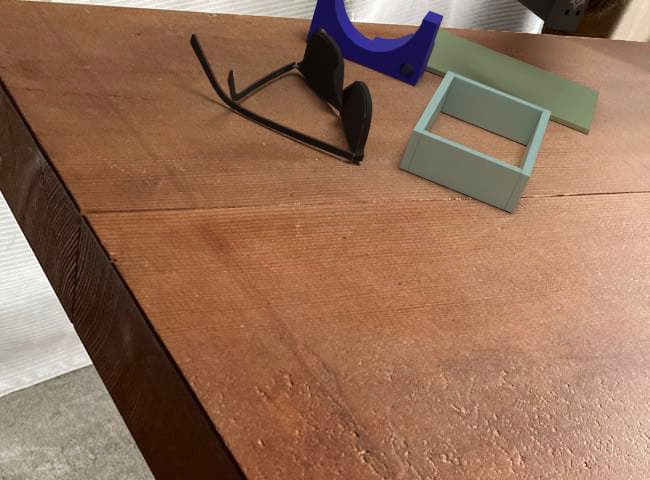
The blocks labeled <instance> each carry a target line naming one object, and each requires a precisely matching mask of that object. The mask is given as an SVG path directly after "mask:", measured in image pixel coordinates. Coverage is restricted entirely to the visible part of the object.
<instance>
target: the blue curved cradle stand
mask: <svg viewBox="0 0 650 480" xmlns="http://www.w3.org/2000/svg"><path fill="white" fill-rule="evenodd" d="M443 19H444V15H443V14H440V13H437V12H435V11H432V10H428V12H426V14H425V16H424V17H423V18H422V21H421V22H420V25H419V27H418V29H417V30H415V31H414V33H412V32H411V33H409V34H406V35H404V36H401V37H397V38H384V37H380V36H377V35H375V37H374V38H373V39H370V38H369V37H367V36H365V35H364V34H363V33H362V32H360V31H359V30H358V29H357V28H356V27H355V26H354V24H353V23H352V21H351V19H350V17H349V15H348V12H347V10H346V6H345V0H316V4H315V7H314V11H313V15H312V18H311V21H310V25H309V29H308V33H307V37H306V40H305V43H306V44H307V43H308V40H309V38H310V35H311V34H312V33H313V32H314V31H316V30H318V31H324V32H326V33H327V34H329V35H330V36H331V37H332V38H333V39H334V40H335V41H336V43H337V44H338V46H339V47H340V49H341V51H342V54H343V58H344V59H346V60H349V61H352V62H354V63H357V64H359V65H362V66H364V67H367V68H369V69H371V70H374V71H377V72H379V73H381V74H384V75H387V76H389V77H392V78H394V79H396V80H398V81H402V82H404V83H406V84H408V85H412V86H414V87H416V86H417V84H418V83H419V81H420V80H421V78H422V77H423V75H424V74H425V73H426V67H427V64H428V61H429V59H430V56H431V53H432V51H433V48H434V45H435V42H434V41H435V38H436V36H437V33H438V30H439V29H440V27H441V25H442V22H443Z"/></svg>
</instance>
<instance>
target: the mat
mask: <svg viewBox="0 0 650 480" xmlns="http://www.w3.org/2000/svg"><path fill="white" fill-rule="evenodd" d="M434 42H435V45H434V48H433V51H432V53H431V56H430V59H429V61H428V64H427V67H426V70H425V72H426V71H427V72H429V73H432V74H434V75H436V76H439V77H442V78H444V77H445V75H446V74H447V72H448V71H450V72H453V73H455V74H458V75H460V76H463V77H465V78H468V79H471V80H473V81H476V82H478V83H481V84H483V85H486V86H488V87H491V88H493V89H496V90H498V91H501V92H503V93H506V94H509V95H511V96H514V97H516V98H519V99H521V100H524V101H526V102H529V103H531V104H534V105H536V106H539V107H541V108H543V109H546V110H549V111H551V115H550V118H549V120H550V121H553V122H556V123H558V124H561V125H563V126H565V127H567V128H571V129H572V130H576V131H578V132H580V133H583V134H586V135H588V134H589V133H590V131H591V126H592V123H593V119H594V114H595V111H596V107H597V102H598V98H599V95H600V91H598V90H596V89H594V88H591V87H588V86H586V85H584V84H580V83H578V82H576V81H573V80H571V79H568V78H565V77H563V76H560V75H558V74H555V73H552V72H551V71H548V70H544V69H542V68H539V67H537V66H535V65H532V64H530V63H528V62H524V61H522V60H520V59H517V58H515V57H513V56H509V55H507V54H504V53H501V52H499V51H497V50H494V49H491V48H489V47H486V46H484V45H481V44H479V43H476V42H473V41H471V40H469V39H466V38H463V37H461V36H458V35H456V34H453V33H451V32H449V31H446V30H444V29H440V28H439V30H438V33H437V36H436V38H435V41H434Z"/></svg>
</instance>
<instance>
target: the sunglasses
mask: <svg viewBox="0 0 650 480" xmlns="http://www.w3.org/2000/svg"><path fill="white" fill-rule="evenodd" d="M189 44H190V46H191V48H192V50H193V52H194V54H195V56H196V58H197V60H198V62H199V64H200V66H201V68H202V69H203V71H204V74H205V75H206V77H207V79H208V81H209V83H210V85H211V88H212V89H214V91H215V93H216V94H217V96H218V97H219V98H220V100H221V101H222V102H224V103H225V104H226V106H227V107H230V108H231V110H234V111H236V112H237V113H239V114H240V115H242V116H244V117H247V118H248V119H250V120H252V121H254V122H256V123H258V124H261V125H263V126H265V127H267V128H269V129H271V130H273V131H276V132H278V133H280V134H283V135H284V136H288V137H290V138H292V139H294V140H297V141H299V142H302V143H304V144H307V145H309V146H312V147H314V148H317V149H320V150H322V151H325V152H327V153H328V154H329V153H330V154H333V155H334V156H336V157H337V156H338V157H340V158H343V159H345V160H348V161H353V160H354V162H363V160H364V159H365V148H366V144H367V142H368V137H369V134H370V130H371V125H372V119H373V98H372V95H371V92H370V89H369V87H368V85H367V84H366V82H364V80H363V81H362V80H354V81H353V82H351V83H350V84H349V85H347V86H345V87H344V83H345V82H344V81H345V60H344V59H345V58H344V57H343V54H342V51H341V49H340V47H339V46H338V44H337V43H336V41H335V40H334V39H333V38H332V37H331V36H330V35H329V34H327V33H326V31H325V30H322V31H318V30H316V31H314V32H313V33H312V34H311V35H310V38H309V40H308V43H306V45H305V48H304V54H303V57H302V60H300V61H299V62H298V61H297V62H296V61H292V62H290V63H287V64H285V65H283V66H281V67H278V68H276V69H274V70H272V71H271V72H269V73H267V74H265V75H263V76H262V77H260V78H258V79H257V80H256V81H254V82H252V83H251V84H249V85H248V86H246V87H244V89H242V90H241V91H238V93H237V90H236V84H235V83H236V82H235V77H234V76H235V75H234V70H233V69H229V71H228V75H227V78H226V82H227V86H228V91H229V95H230V96H228V95H227V93H226V92H225V91H224V89H223V88H222V87H221V85H220V83H219V81H218V79H217V78H216V76H215V73H214V71H213V69H212V67H211V64H210V62H209V61H208V58H207V55H206V54H205V52H204V50H203V49H204V48H203V47H202V45H201V43H200V40H199V39H198V36H197V34H196V33H192V34H191V36H190V39H189ZM295 69H296V70H297V71H298V72H299V73H300V74H301V75H302V76H303V78H304V80H305V81H306V82H307V83H308V85H309V86H310V87H311V89H312V90H313V91H314V92H315V94H317V95H318V96H319V97H320V98H321V99H323V100H324V101H325V102H326V103H327V104H329V105H330V106H331V107H333V108H334V109H335V110H336V111H337V112H338V114H339V118H340V121H341V124H342V128H343V131H344V133H345V138H346V141H347V144H348V147H349V149H350V150H347V149H344V148H342V147H339V146H337V145H334V144H332V143H330V142H326V141H323V140H321V139H319V138H316V137H314V136H311V135H309V134H306V133H303V132H302V131H298V130H296V129H293V128H292V127H289V126H286V125H283V124H282V123H279V122H276V121H274V120H272V119H270V118H267V117H265V116H262V115H260V114H258V113H256V112H254V111H252V110H250V109H248V108H246V107H244V106H243V105H241V104H240V103H238V102H239V101H240V100H242V99H243V98H245V97H246V96H248V95H249V94H250V93H252V92H253V91H255V90H257V89H258V88H260V87H262V86H264V85H265V84H267V83H268V82H271V81H273V80H275V79H277V78H278V77H280V76H282V75H285V74H287V73H289V72H291V71H293V70H295Z"/></svg>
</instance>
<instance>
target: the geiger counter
mask: <svg viewBox="0 0 650 480" xmlns="http://www.w3.org/2000/svg"><path fill="white" fill-rule="evenodd" d="M516 1H517V2H518V3H520V4H521V5H522V6H524V8H526V9H527V10H529V12H531V13H533V14H534V15H535V16H536V17H537V18H538V19H540V20H541V21H543V23H544V26H546V27H547V28H548V29H549V28H550V29H552V30H555V31H557V30H558V31H570V32H576V29H577V28H578V25H579V24H580V21H581V19H582V16H583V15H584V13H585V10H586V8H587V6H588V4H589V2H590V0H516Z"/></svg>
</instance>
